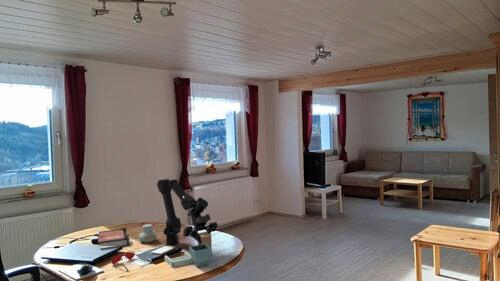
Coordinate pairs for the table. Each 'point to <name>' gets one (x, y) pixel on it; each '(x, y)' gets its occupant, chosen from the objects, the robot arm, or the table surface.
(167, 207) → the robot arm
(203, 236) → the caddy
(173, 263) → the bay
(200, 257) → the flower pot
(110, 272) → the table surface
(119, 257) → the glasses
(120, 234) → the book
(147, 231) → the air freshener
